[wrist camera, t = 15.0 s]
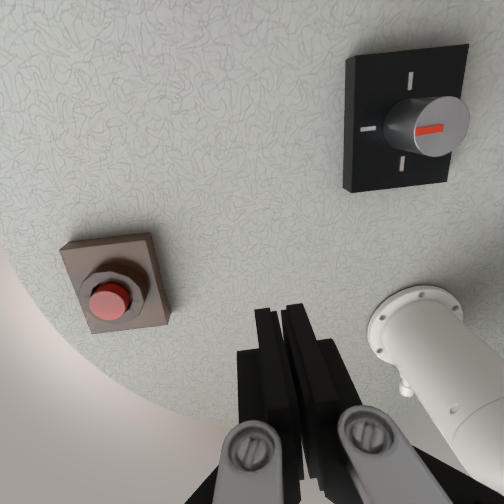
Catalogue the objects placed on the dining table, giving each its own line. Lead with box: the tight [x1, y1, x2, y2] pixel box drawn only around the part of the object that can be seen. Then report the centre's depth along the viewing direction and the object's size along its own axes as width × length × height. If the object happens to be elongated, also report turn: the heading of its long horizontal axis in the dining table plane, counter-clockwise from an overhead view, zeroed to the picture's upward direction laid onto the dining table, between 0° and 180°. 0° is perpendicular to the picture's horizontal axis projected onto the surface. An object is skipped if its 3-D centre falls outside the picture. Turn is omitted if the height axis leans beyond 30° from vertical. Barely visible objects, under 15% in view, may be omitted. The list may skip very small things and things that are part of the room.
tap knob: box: [383, 96, 470, 157], centre depth 27 cm, size 4×4×6 cm
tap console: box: [343, 44, 469, 193], centre depth 31 cm, size 12×10×3 cm
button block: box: [59, 233, 171, 334], centre depth 35 cm, size 11×9×4 cm
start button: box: [89, 282, 130, 320], centre depth 33 cm, size 4×4×2 cm
